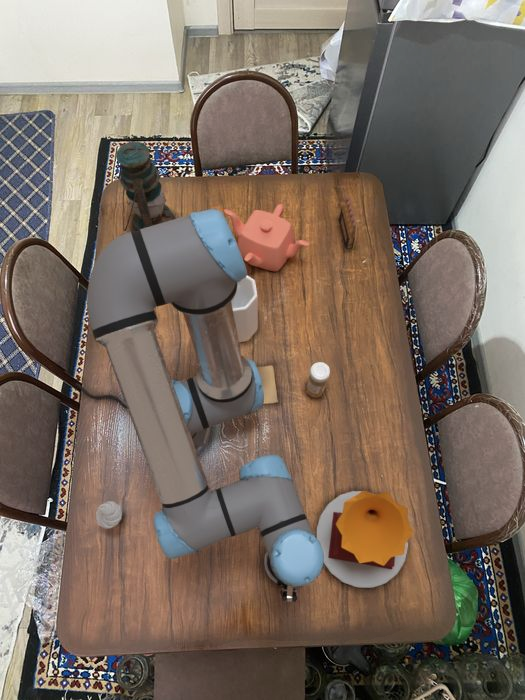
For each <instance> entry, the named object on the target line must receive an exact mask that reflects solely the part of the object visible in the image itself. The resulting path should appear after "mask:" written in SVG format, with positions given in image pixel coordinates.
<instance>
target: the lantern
mask: <svg viewBox="0 0 525 700" xmlns="http://www.w3.org/2000/svg"><path fill="white" fill-rule="evenodd" d="M115 154H116V155H115V158H116V160H117V163H119V164H120V179H119V182H120V185H121V186H122V187H123V190H122V212H121V213H122V231H124V232H126V231H127V229H128V227H129V223H130V220H131V216H132V215H133V216H132V230H133V231H132V232H134V231H137V230H140V229H143V228H147V227H150V226H153V225H157V224H160V223H163V222H167V221H170V220H173V219H177V218H176V216H175V215H174V213H173V212H172V210H171V209H170V207H169V206H168V205H167V204H166V202H167V199H166V195H165V193H164V190H163V189H162V184H161V182H160V179H161V176H160V172H159V169H158V168H157V167H156V165H155V164H154V163H153V162H152V159H151V157H150V155H151V151H150V149H149V147H148V146H147V145H146V144H145V143H143V142H140V141H129V142H126V143H124V144H122V145H121V146H119V147H118V148H117V150H116V153H115ZM125 195H126V196H127V199H128V203H127V206H128V207H129V208H131V209H130V212H129V216H128V219H127V222H126V226H125V217H124V212H125ZM132 213H133V214H132Z"/></svg>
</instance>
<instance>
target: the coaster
mask: <svg viewBox="0 0 525 700" xmlns="http://www.w3.org/2000/svg"><path fill="white" fill-rule="evenodd" d="M256 367H257V369H258V372H259V374H260V377H261V381H262V388H263V391H264V402H263V405H269V404H270V405H271V404H277V403H279V399H278V393H277V386H276V378H275V370H274V365H273V364H272V365H266V366H265V365H263V366H256Z"/></svg>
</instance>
